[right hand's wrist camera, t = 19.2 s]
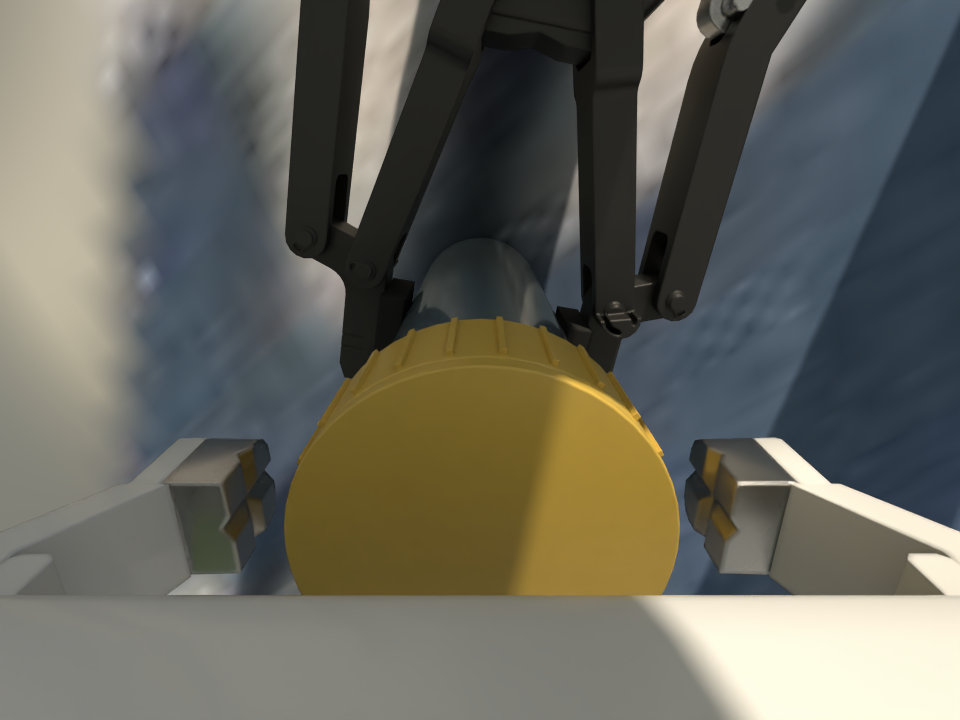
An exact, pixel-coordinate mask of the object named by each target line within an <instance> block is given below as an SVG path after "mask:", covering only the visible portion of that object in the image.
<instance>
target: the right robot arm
mask: <svg viewBox="0 0 960 720" xmlns="http://www.w3.org/2000/svg"><path fill="white" fill-rule="evenodd" d="M270 461H271V459H270V454H269V449H268V444H267V443H266V442H265V441H264V440H263V439H227V438H211V439H210V438H184V439H178V440H177V441H176V442H175V443H174V444H173V445H172V446H171V447H169V448H168V449H167V450H166V451H165V452H164V453H163V454H162V455H160V456H159V457H158V458H157V459H156V460H155V461H154V462H153V463H152V464H150V465H149V466H148V467H147V468H146V469H145V470H144V471H143V472H141V473H140V474H139V475H138V476H137V477H136V478H135V479H134V480H133V481H131V482H130V483H129V484H118V485H116V486H113V487H111V488H108V489H106V490H103V491H101V492H98V493H96V494H93V495H91V496H88V497H86V498H83V499H81V500H78V501H76V502H73V503H71V504H68V505H66V506H63V507H61V508H58V509H56V510H53V511H51V512H48V513H46V514H43V515H41V516H39V517H36V518H33V519H31V520H28V521H26V522H23V523H21V524H18V525H16V526H13V527H11V528H8V529H6V530H4V531H1V532H0V720H960V532H959V531H956V530H954V529H951V528H949V527H946V526H944V525H941V524H939V523H936V522H934V521H931V520H929V519H926V518H924V517H921V516H919V515H916V514H914V513H911V512H909V511H906V510H904V509H901V508H899V507H896V506H894V505H892V504H889V503H887V502H884V501H882V500H879V499H877V498H874V497H872V496H869V495H867V494H864V493H862V492H859V491H857V490H854V489H852V488H849V487H847V486H844V485H842V484H831V483H830V482H829V481H828V480H826V479H825V478H824V477H823V476H822V475H821V474H820V473H819V472H818V471H816V470H815V469H814V468H813V467H812V466H811V465H810V464H809V463H807V462H806V461H805V460H804V459H803V458H802V457H801V456H800V455H799V454H797V453H796V452H795V451H794V450H793V449H792V448H791V447H790V446H789V445H787V444H786V443H785V442H784V441H783V440H782V439H778V438H736V439H700V440H695V441H694V444H693V446H692V448H691V453H690V458H689V461H690V462H691V464H692V465H693V467H694V468H695V471H694V473H693V474H692V475H691V476H690V477H689V478H688V479H687V480H686V484H685V492H684V501H685V510H686V513H687V517H688V520H689V522H690V524H691V525H692V527H693V529H694V530H695V531H697V532H698V533H700V534H702V535H703V536H705V542H704V548H705V549H706V551H707V553H708V554H709V556H710V558H711V559H712V561H713V563H714V564H715V566H716V568H717V569H718V571H719V573H735V574H770V575H769V577H770V578H772V579H773V580H774V581H776V582H777V583H778V584H780V585H781V586H782V587H784V588H785V589H786V590H788V591H789V592H790V593H792V594H793V595H167V594H168V593H170V592H171V591H172V590H174V589H175V588H176V587H178V586H179V585H180V584H182V583H183V582H185V581H186V580H187V579H189V578H190V577H191V575H190V574H223V573H241V571H242V570H243V568H244V566H245V564H246V563H247V561H248V559H249V558H250V556H251V554H252V553H253V551H254V549H255V548H256V542H255V536H257V535H258V534H260V533H262V532H263V531H265V530H266V529H267V527H268V525H269V523H270V522H271V520H272V517H273V513H274V509H275V504H276V490H275V483H274V480H273V479H272V478H271V477H270V476H269V475H268V474H267V473H266V471H265V468H266V467H267V465H268V464H269V462H270Z"/></svg>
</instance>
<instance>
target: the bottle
mask: <svg viewBox="0 0 960 720" xmlns="http://www.w3.org/2000/svg"><path fill="white" fill-rule="evenodd" d="M497 316H500V317H503V320H506V321H511V322H516V323H522V324H526V325H529V326H533V327H536V328H539V327H540V325H541V326H544V327H546V328H547V331H548V332H550V333H552V334H554V335H556V336H558V337H560V338H562V339H564V340H567V341H568V342H569V340H568V338H567V337H566V335H565V333H564V331H563V329H562V327H561V325H560V323H559V321H558V319H557V317H556V315H555V313H554V311H553V309H552V307H551V305H550V303H549V301H548V299H547V297H546V295H545V293H544V291H543V289H542V287H541V285H540V283H539V282H538V280H537V278H536V276H535V274H534V272H533V270H532V268H531V266H530V265H529V263H528V261H527V260H526V259H525V258H524V257H523V256H522V255H521V254H520V253H519V252H518V251H517V250H516V249H514V248H513V247H511V246H510V245H508V244H506V243H504V242H501V241H498V240H494V239H489V238H472V239H467V240H463V241H460V242H458V243H456V244H454V245H452V246H450V247H448V248H447V249H446V250H444V251H443V252H442V253H441V254H440V255H439V256H438V257H437V258H436V259H435V260H434V262H433V263H432V265H431V266H430V268H429V270H428V272H427V274H426V276H425V278H424V280H423V282H422V284H421V286H420V288H419V290H418V292H417V294H416V296H415V298H414V300H413V302H412V304H411V306H410V308H409V310H408V312H407V314H406V316H405V318H404V320H403V322H402V324H401V326H400V328H399V331H398V333H397V335H396V337H395V339H394V341H393V342H395V341H397V340H399V339H401V338H403V337H405V336H407V334H408V332H409V330H411V329H415V331H419V330H422V329H425V328H428V327H431V326H434V325H437V324H442V323H447V322H451V318H455V317H457V318H458V320H470V319H493V320H496V317H497Z"/></svg>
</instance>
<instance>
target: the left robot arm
mask: <svg viewBox="0 0 960 720" xmlns="http://www.w3.org/2000/svg"><path fill="white" fill-rule="evenodd" d="M663 1H664V0H440V3H439V5H438V8H437V11H436V13H435V16H434V19H433V22H432V25H431V28H430V31H429V35H428V40H427V45H426V49H425V52H424V55H423V57H422V60H421V63H420V65H419V68H418V71H417V73H416V76H415V79H414V81H413V84H412V87H411V89H410V92H409V95H408V97H407V100H406V103H405V105H404V108H403V111H402V113H401V116H400V119H399V121H398V124H397V127H396V129H395V132H394V135H393V137H392V140H391V143H390V145H389V148H388V151H387V153H386V156H385V159H384V161H383V164H382V167H381V169H380V172H379V175H378V177H377V180H376V183H375V185H374V188H373V191H372V193H371V196H370V199H369V201H368V204H367V207H366V209H365V212H364V215H363V217H362V220H361V223H360V225H359V228H358V229H357V228H355V227H353V226H352V225H350V224H348V223H347V216H348V207H349V197H350V188H351V179H352V169H353V160H354V151H355V141H356V132H357V123H358V113H359V104H360V95H361V85H362V76H363V67H364V57H365V48H366V39H367V29H368V20H369V5H370V0H301V6H300V20H299V35H298V50H297V65H296V80H295V95H294V109H293V124H292V139H291V154H290V169H289V184H288V198H287V213H286V228H285V237H286V243H287V245H288V246H289V248H290V250H291V251H292V252H293V253H295V254H296V255H297V256H300V257H302V258H313V259H315V260H316V261H318V262H320V263H322V264H324V265H326V266H327V267H329V268H331V269H332V270H334V271H335V272H337V274H338V275H339V276H340V277H341V279H342V280H343V282H344V285H345V290H346V297H345V308H344V320H343V331H342V333H343V335H342V343H341V345H342V346H341V354H340V365H341V368H342V371H343V374H344V377H346V378H353V377H354V376H355V375H356V373H357V372H358V371H359V370H360V369H361V368H362V367H363V366H364V365H365V364H366V363H367V361H368V359H369V357H370V356H371V354H372V352H373V351H375V350H376V349H377V350H378V351H379V352H380V351H382V350H383V349H385V348H386V347H388V346H389V345H390V344H392V343H393V341H394V339H395V337H396V335H397V333H398V331H399V328H400V326H401V324H402V322H403V320H404V318H405V316H406V314H407V312H408V310H409V308H410V306H411V304H412V299H413V291H414V284H415V282H413V281H408V280H402V279H396V278H393V279H392V276H393V268H394V267H395V265H396V264H397V262H398V260H397V259H398V257H399V254H400V252H401V250H402V247H403V245H404V242H405V240H406V237H407V235H408V232H409V230H410V228H411V225H412V223H413V220H414V218H415V215H416V213H417V210H418V208H419V206H420V203H421V201H422V198H423V196H424V193H425V191H426V188H427V186H428V184H429V181H430V179H431V176H432V174H433V171H434V169H435V166H436V164H437V162H438V159H439V157H440V154H441V152H442V149H443V147H444V145H445V142H446V140H447V137H448V135H449V132H450V130H451V127H452V125H453V123H454V120H455V118H456V115H457V113H458V110H459V108H460V105H461V103H462V101H463V98H464V96H465V93H466V91H467V88H468V86H469V84H470V82H471V80H472V78H473V76H474V74H475V72H476V69H477V67H478V65H479V62H480V60H481V57H482V55H483V52H484V50H485V47H490V48H495V49H500V50H515V49H525V48H533V49H536V50H537V51H539V52H541V53H543V54H545V55H547V56H549V57H550V58H552V59H554V60H556V61H560V62H565V63H570V64H573V85H574V97H575V100H576V105H577V135H578V177H579V219H580V261H581V297H582V302H583V303H582V307H581V311H580V312H579V311H578V310H577V309H571V308H565V307H560V306H557V310H556V314H555V315H556V317H557V319H558V321H559V323H560V325H561V327H562V329H563V331H564V333H565V335H566V337H567V338H568V340H569V342H570V343H571V344H573V345H574V346H576V347H578V345H579V344H580V345H582V346H583V347H584V348H585V350H586V352H587V353H588V355H589V357H590V358H592V359H593V360H594V361H595V362H596V363H597V364H599V365H600V366H601V368H602V369H603V370H604V371H605V372H606V373H609V372H610V371H611V372H612V371H613V367H614V364H615V360H616V357H617V353H618V350H619V346H620V343H621V340H622V339H623V338H626V337H629V336H631V335H632V334H633V333H635V332H636V330H637V329H638V327H639V326H640V322H643V321H649V320H655V319H661V318H665V319H667V320H670V321H679V320H682V319H684V318H686V317H687V316H688V315H690V314H691V313H692V311H693V309H694V307H695V305H696V302H697V299H698V296H699V292H700V289H701V286H702V283H703V279H704V276H705V273H706V269H707V266H708V263H709V259H710V256H711V253H712V250H713V246H714V243H715V240H716V236H717V233H718V230H719V226H720V223H721V220H722V216H723V213H724V210H725V207H726V203H727V200H728V197H729V193H730V190H731V187H732V183H733V180H734V177H735V174H736V170H737V167H738V164H739V160H740V157H741V154H742V150H743V147H744V144H745V140H746V137H747V134H748V131H749V127H750V124H751V121H752V117H753V114H754V111H755V107H756V104H757V101H758V98H759V94H760V91H761V88H762V84H763V81H764V78H765V74H766V71H767V68H768V64H769V61H770V58H771V55H772V53H773V51H774V50H775V48H776V47H777V45H778V43H779V42H780V40H781V39H782V37H783V36H784V34H785V33H786V31H787V30H788V28H789V26H790V25H791V23H792V22H793V20H794V19H795V17H796V16H797V14H798V13H799V11H800V9H801V8H802V6H803V5H804V3H805V2H806V0H701V2H700V5H699V8H698V11H697V26H698V28H699V30H700V32H701V33H702V34H703V35H704V36H705V37H706V38H705V40H704V41H703V43H702V45H701V47H700V49H699V52H698V54H697V56H696V59H695V61H694V63H693V66H692V69H691V73H690V76H689V79H688V83H687V86H686V90H685V94H684V98H683V102H682V106H681V110H680V114H679V118H678V121H677V125H676V129H675V133H674V137H673V141H672V145H671V149H670V152H669V156H668V160H667V164H666V168H665V172H664V176H663V180H662V184H661V187H660V191H659V195H658V199H657V203H656V207H655V211H654V215H653V219H652V222H651V226H650V230H649V234H648V238H647V242H646V246H645V250H644V253H643V257H642V261H641V265H640V269H639V273H638V275H635V225H636V146H637V91H638V86H639V83H640V80H641V76H642V70H643V36H644V21H645V20H646V19H647V18H648V17H649V16H650V15H651V14H652V13H653V12H654V11H655V10H656V9H657V8H658V7H659V6H660V5H661V4H662V2H663Z"/></svg>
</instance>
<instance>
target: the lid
mask: <svg viewBox="0 0 960 720" xmlns="http://www.w3.org/2000/svg"><path fill="white" fill-rule="evenodd" d="M317 425H318V428H317V430H316V431H315V433H314V434H313V436H312V438H311V439H310V441H309V442H308V444H307V446H306V447H305V449H304V450H303V452H302V454H301V455H300V457H299V459H298V461H297V464H298V465H299V466H298V468H297V471H296V473H295V476H294V478H293V480H292V483H291V485H290V490H289V494H288V498H287V502H286V506H285V520H284V534H285V546H286V553H287V557H288V561H289V565H290V569H291V572H292V574H293V577H294V579H295V581H296V584H297V586H298V589H299V591H300V592H301V594H302V595H662V593H663V591H664V590H665V588H666V585H667V583H668V581H669V578H670V576H671V573H672V571H673V568H674V564H675V559H676V555H677V551H678V544H679V530H680V521H679V510H678V502H677V498H676V494H675V490H674V486H673V482H672V480H671V478H670V476H669V473H668V471H667V469H666V466H665V464H664V462H663V460H662V458H661V457H662V456H664V454H663V452H662V450H661V448H660V447H659V445H658V444H657V442H656V440H655V439H654V437H653V436H652V434H651V433H650V431H649V430H648V428H647V426H646V425H645V423H644V422H643V420H642V419H641V416H640V415H639V413H638V412H637V410H636V408H635V407H634V405H633V404H632V402H631V401H630V399H629V398H628V396H627V394H626V393H625V391H624V390H623V388H622V387H621V385H620V384H619V382H618V380H617V379H616V377H615V376H614V374H613V373H612V372H611V371H610V372H609V373H606V372H605V371H604V370H603V369H602V368H601V366H600V365H599V364H597V363H596V362H595V361H594V360H593V359H592V358H590V357H589V355H588V353H587V352H586V350H585V348H584V347H583V346H582V345H580V344H579V345H578V347H576V346H574V345H573V344H571V343H570V342H568V341H567V340H564V339H562V338H560V337H558V336H556V335H554V334H552V333H550V332H548V331H547V328H546V327H544V326H541V325H540V327H539V328H536V327H533V326H529V325H526V324H522V323H516V322H511V321H506V320H503V317H500V316H497V317H496V320H493V319H470V320H458V318H457V317H455V318H451V322H447V323H442V324H437V325H434V326H431V327H428V328H425V329H422V330H419V331H415V329H411V330H409V332H408V334H407V336H405V337H403V338H401V339H399V340H397V341H395V342H393V343H392V344H390V345H389V346H388V347H386V348H385V349H383V350H382V351H380V352H379V351H378V350H377V349H376V350H375V351H373V352H372V354H371V356H370V357H369V359H368V361H367V363H366V364H365V365H364V366H363V367H362V368H361V369H360V370H359V371H358V372H357V373H356V375H355V376H354V377H353V378H352V379H351V380H350V379H349V378H346V380H345V381H344V383H343V384H342V386H341V387H340V389H339V391H338V392H337V394H336V395H335V397H334V399H333V400H332V402H331V403H330V405H329V406H328V408H327V410H326V411H325V413H324V414H323V416H322V418H321V419H320V421H319V422H318V424H317Z"/></svg>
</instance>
